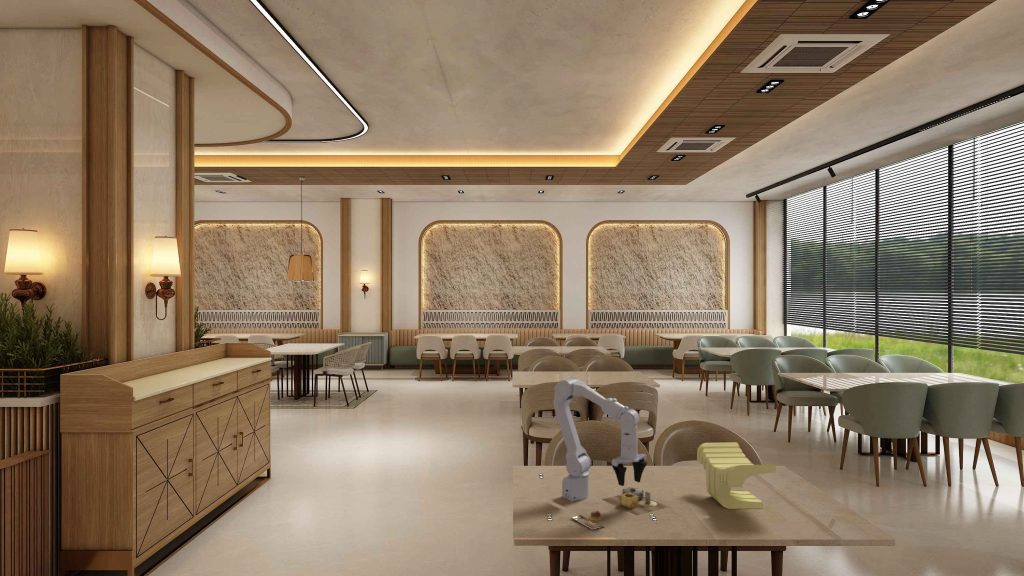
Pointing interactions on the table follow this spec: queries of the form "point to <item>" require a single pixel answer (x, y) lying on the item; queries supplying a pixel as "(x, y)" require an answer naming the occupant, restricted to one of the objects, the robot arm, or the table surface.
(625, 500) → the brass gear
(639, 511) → the gear board
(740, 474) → the slatted curved stool
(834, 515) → the table surface
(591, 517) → the dessert
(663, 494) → the table surface
